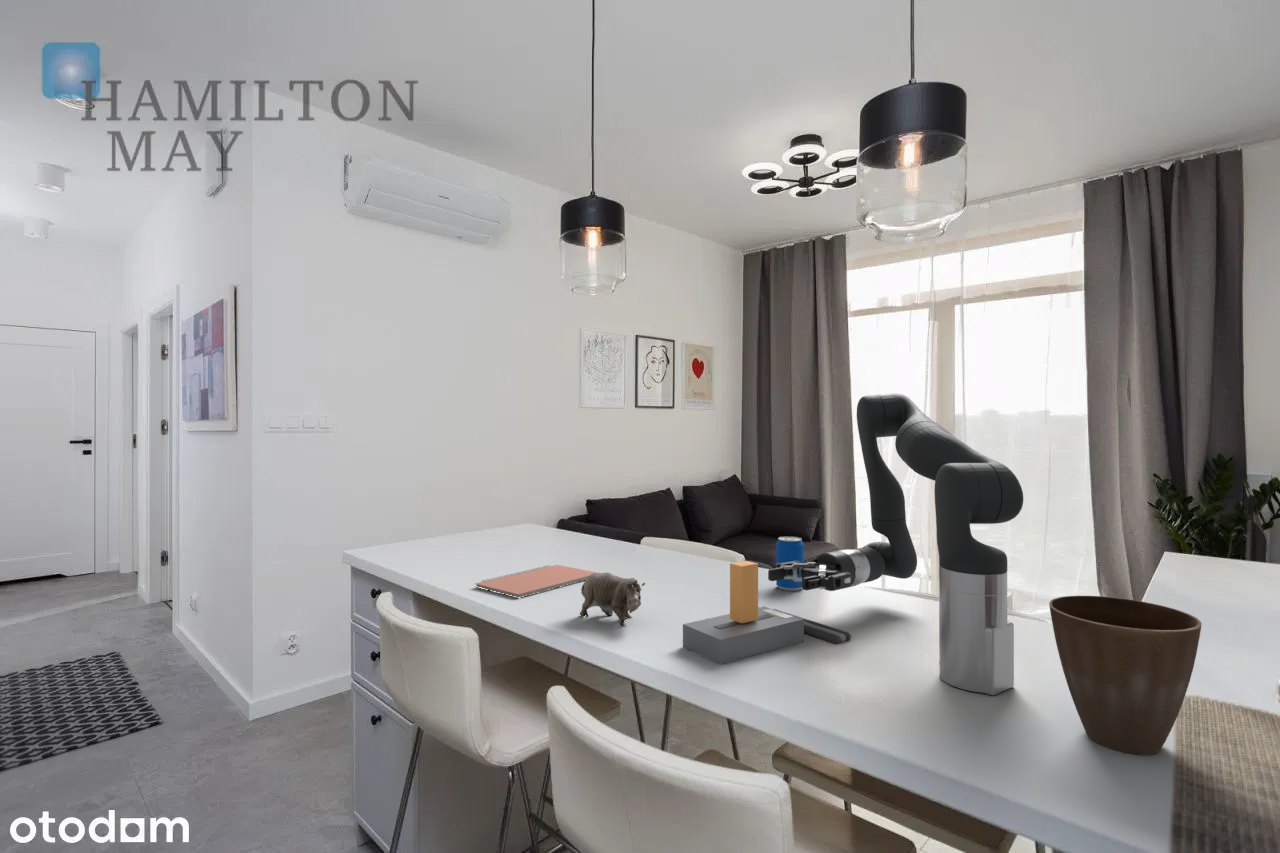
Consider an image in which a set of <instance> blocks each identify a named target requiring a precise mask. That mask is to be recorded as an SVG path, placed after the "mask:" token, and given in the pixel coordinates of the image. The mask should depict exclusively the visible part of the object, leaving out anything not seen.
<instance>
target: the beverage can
mask: <svg viewBox="0 0 1280 853" xmlns="http://www.w3.org/2000/svg"><path fill="white" fill-rule="evenodd" d="M777 539H778V540H777V541H776V544H775V546H776V547H775V553H776V554H775V556H776V559H775V560H776V561H775V565H776V564H778V563H785V562H792V561H799V562H800V563H805V562H804V561H805V559H804V558H805V553H804V551H805V547H804V546H805V545H804V542H803V540H802V537H798V536H779V537H778V538H777ZM797 578H801V576H800V574H797ZM775 584H776V586H777V587H778V588H779V589H780V590H782V589H783V591H787V592H788V591H789V592H795V591H800V590H801V589H802V582H795V581H794V580H793V579H781V580H776V582H775Z"/></svg>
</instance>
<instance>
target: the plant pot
mask: <svg viewBox="0 0 1280 853" xmlns="http://www.w3.org/2000/svg"><path fill="white" fill-rule="evenodd" d="M1048 606H1049V611H1050V618H1051V623H1052V629H1053V634H1054V638H1055V643H1056V644H1055V645H1056V647H1057V648H1056V650H1057V652H1058V656H1059V660H1060V665H1061V667H1062V670H1063V671H1062V672H1063V674H1064V677H1065V681H1066V684H1067V687H1068V690H1069V693H1070V696H1071V699H1072V702H1073V704H1074V706H1075V709H1076V712H1077V715H1078V717H1079V719H1080V722H1081V724H1082V726H1083V729H1084V731H1085V734H1086V735H1087V736H1088V737H1089V738H1090V739H1091V740H1092V741H1094V742H1096V743H1097V744H1099V745H1101V746H1104V747H1105V748H1108V749H1111V750H1114V751H1117V752H1118V751H1119V752H1122V753H1125V754H1131V755H1142V756H1149V755H1155V754H1157V753H1159V752H1160V751H1161V750H1162V748H1163V747H1164V745H1165V743H1166V742H1167V739H1168V737H1169V735H1170V733H1171V731H1172V729H1173V726H1174V725H1175V723H1176V720H1177V718H1178V716H1179V713H1180V712H1181V708H1182V705H1183V703H1184V700H1185V697H1186V693H1187V690H1188V689H1189V685H1190V682H1191V679H1192V678H1191V677H1192V675H1193V670H1194V668H1195V667H1194V666H1195V663H1196V662H1195V661H1196V658H1197V653H1198V647H1199V641H1200V637H1201V631H1202V624H1203V623H1202V622H1201V620H1199V618H1198V617H1196V616H1194V615H1192V614H1190V613H1187V612H1185V611H1182V610H1180V609H1176V608H1173V607H1169V606H1165V605H1161V604H1156V603H1151V602H1147V601H1141V600H1135V599H1128V598H1120V597H1112V596H1102V595H1101V596H1100V595H1098V596H1097V595H1067V596H1058V597H1055V598H1053V599H1051V600H1050V601H1049V602H1048Z"/></svg>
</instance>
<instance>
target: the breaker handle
mask: <svg viewBox="0 0 1280 853" xmlns="http://www.w3.org/2000/svg"><path fill="white" fill-rule="evenodd" d="M758 608H759V563H757V562H753V561H748V560H742V561H737V562H730V563H729V614H730V619H731V620H734V621H736V622H739V623H746V622H750V621H754V620H758Z"/></svg>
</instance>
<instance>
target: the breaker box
mask: <svg viewBox="0 0 1280 853" xmlns="http://www.w3.org/2000/svg"><path fill="white" fill-rule="evenodd" d="M774 609H775V608H770V607H767V606H761V607H759V606H758V620H754V621H750V622H746V623H739V622H736V621H734V620H731V619H730V613H729V614H728V613H727V614H723V615H719V616H714V617H710V618H705V619H701V620H695V621H691V622H688V623H687V622H686V623H683V624H682V648H684V649H686V648H687V650H689V651H691V652H693V653H695V654H698V655H699V656H702V657H703V658H706V659H708V660H709V661H712V662H715V663H716V664H719V665H723V664H726V663H730V662H734V661H738V660H741V659H744V658H749V657H752V656H756V655H760V654H762V653H766V652H767V653H768V652H769V651H773V650H778V649H781V648H784V647H788V646H792V645H795V644H796V645H797V644H798V643H803V642H805V633H804V619H805V618H804V619H802V618H803V617H801V618H799V617H800V616H798V617H796V616H797V615H795V616H792V615H793V614H792V615H789V614H790V613H789V614H786V613H787V612H785V613H783V612H784V611H782V612H780V611H781V610H779V611H777V610H778V609H776V610H774Z"/></svg>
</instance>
